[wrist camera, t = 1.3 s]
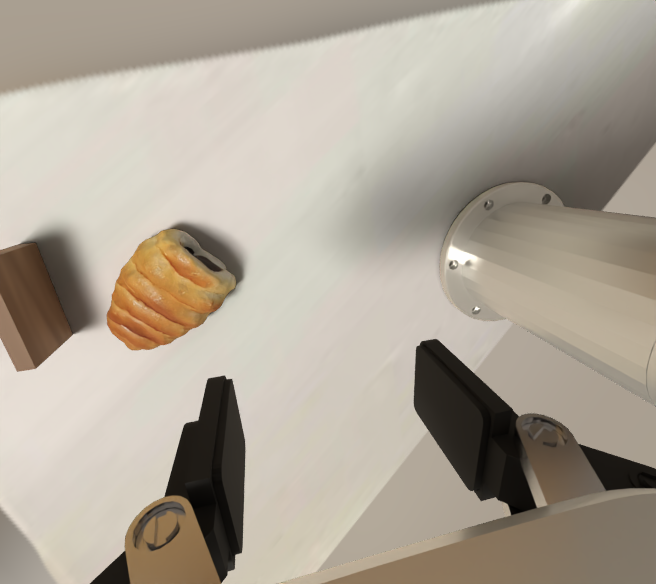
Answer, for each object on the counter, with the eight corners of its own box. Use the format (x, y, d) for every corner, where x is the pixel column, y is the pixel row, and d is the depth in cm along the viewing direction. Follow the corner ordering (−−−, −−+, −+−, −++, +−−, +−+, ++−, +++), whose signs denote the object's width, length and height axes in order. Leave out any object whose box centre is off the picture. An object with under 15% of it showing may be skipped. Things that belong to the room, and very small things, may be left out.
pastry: (168, 356, 27) (155, 384, 23) (88, 308, 24) (60, 331, 20) (243, 274, 26) (241, 290, 22) (168, 214, 23) (152, 222, 19)
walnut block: (35, 242, 22) (-16, 260, 17) (72, 334, 24) (35, 368, 20) (18, 244, 21) (-38, 262, 17) (57, 336, 24) (17, 371, 20)
